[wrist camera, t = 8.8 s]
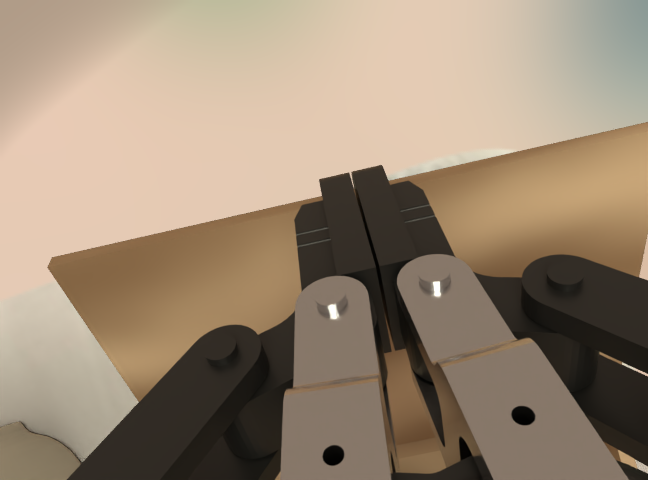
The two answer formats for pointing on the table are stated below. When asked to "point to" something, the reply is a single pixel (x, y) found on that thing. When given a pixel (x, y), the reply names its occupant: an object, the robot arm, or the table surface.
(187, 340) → the flap
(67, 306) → the table surface
